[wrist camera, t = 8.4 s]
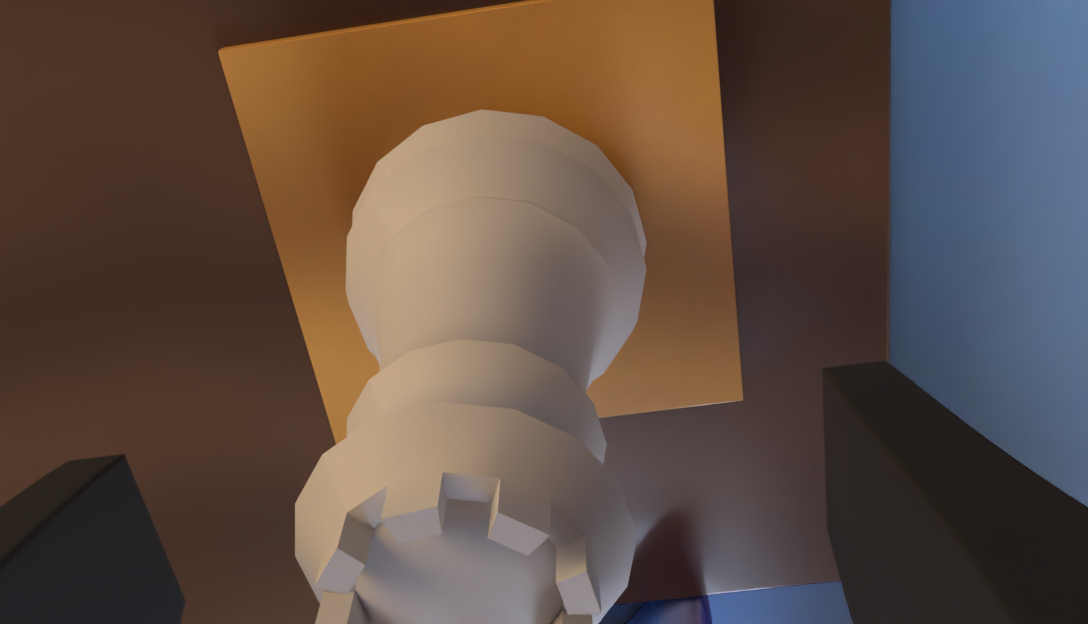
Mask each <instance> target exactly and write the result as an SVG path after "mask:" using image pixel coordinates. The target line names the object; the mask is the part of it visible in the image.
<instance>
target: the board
mask: <svg viewBox="0 0 1088 624" xmlns="http://www.w3.org/2000/svg"><path fill="white" fill-rule="evenodd" d="M891 3H892V0H0V507H1V506H2V505H4V504H5V503H7V502H8V501H9V500H11V499H12V498H13V497H15V496H16V495H18V494H19V493H20V492H22V491H23V490H25V489H26V488H27V487H29V486H30V485H32V484H33V483H35V482H36V481H38V480H39V479H40V478H42V477H43V476H45V475H47V474H48V473H50V472H51V471H53V470H55V469H56V468H58V467H59V466H61V465H63V464H64V463H66V462H68V461H71V460H79V459H87V458H95V457H103V456H111V455H119V454H125V457H126V459H127V461H128V464H129V466H130V469H131V471H132V473H133V476H134V478H135V481H136V483H137V485H138V488H139V490H140V492H141V495H142V497H143V500H144V502H145V504H146V507H147V509H148V512H149V514H150V516H151V519H152V521H153V524H154V526H155V528H156V531H157V533H158V535H159V538H160V540H161V543H162V545H163V547H164V550H165V552H166V555H167V557H168V559H169V562H170V564H171V567H172V569H173V571H174V574H175V576H176V579H177V581H178V583H179V586H180V588H181V590H182V593H183V595H184V598H185V600H186V602H185V606H184V610H183V615H182V619H181V623H180V624H315V622H316V618H317V614H318V611H319V607H320V603H319V601H318V599H317V597H316V595H315V594H314V592H313V590H312V588H311V586H310V584H309V582H308V580H307V578H306V576H305V574H304V572H303V570H302V568H301V567H300V565H299V563H298V561H297V559H296V557H295V503H296V501H297V499H298V497H299V495H300V494H301V492H302V490H303V488H304V486H305V485H306V483H307V481H308V479H309V477H310V476H311V474H312V472H313V470H314V468H315V467H316V465H317V463H318V461H319V459H320V458H321V456H322V454H324V453H325V452H327V451H328V450H329V449H331V448H332V447H334V446H335V445H337V444H338V443H339V442H341V441H342V440H344V439H345V438H347V418H348V416H349V414H350V412H351V411H352V409H353V407H354V405H355V403H356V402H357V400H358V398H359V396H360V395H361V393H362V391H363V389H364V387H365V386H366V384H367V382H368V380H369V379H371V378H372V377H373V376H375V375H376V374H378V373H379V372H380V365H379V363H378V360H377V358H376V357H375V356H374V355H373V354H372V353H371V352H370V351H369V350H368V348H367V345H366V343H365V341H364V338H363V336H362V334H361V331H360V329H359V327H358V324H357V322H356V319H355V317H354V315H353V312H352V310H351V308H350V305H349V303H348V299H347V295H346V253H347V236H348V234H349V232H350V230H351V228H352V216H353V209H354V207H355V205H356V203H357V201H358V199H359V197H360V195H361V193H362V192H363V190H364V188H365V186H366V184H367V182H368V180H369V178H370V176H371V174H372V172H373V170H374V168H375V166H376V164H377V162H378V161H379V160H381V159H382V158H383V157H384V156H386V155H387V154H388V153H389V152H391V151H392V150H393V149H394V148H396V147H397V146H398V145H399V144H401V143H402V142H403V141H404V140H406V139H407V138H408V137H409V136H411V135H412V134H413V133H414V132H416V131H417V130H418V129H419V128H421V127H422V126H424V125H427V124H431V123H434V122H438V121H442V120H445V119H449V118H452V117H456V116H460V115H463V114H467V113H470V112H474V111H478V110H481V109H482V110H491V111H500V112H509V113H517V114H526V115H535V116H543V117H545V118H547V119H549V120H551V121H553V122H554V123H556V124H558V125H560V126H562V127H564V128H566V129H567V130H569V131H571V132H573V133H575V134H577V135H579V136H580V137H582V138H584V139H586V140H588V141H590V142H592V143H593V144H595V145H597V146H598V147H599V149H600V150H601V151H602V152H603V154H604V155H605V156H606V157H607V159H608V160H609V161H610V162H611V164H612V165H613V166H614V167H615V169H616V170H617V171H618V172H619V174H620V175H621V176H622V177H623V178H624V180H625V181H626V182H627V183H628V185H629V186H630V187H631V188H632V190H633V192H634V196H635V200H636V204H637V207H638V211H639V215H640V219H641V223H642V226H643V230H644V234H645V238H646V242H647V244H646V250H645V256H644V261H645V265H646V268H647V269H646V275H645V281H644V286H643V292H642V297H641V303H640V309H639V314H638V320H637V322H636V325H635V327H634V329H633V331H632V333H631V334H630V336H629V337H628V339H627V340H626V341H625V343H624V344H623V346H622V347H621V349H620V350H619V352H618V353H617V355H616V356H615V358H614V359H613V360H612V362H611V363H610V365H609V366H608V368H607V369H606V371H605V372H604V374H602V375H601V376H599V377H598V378H596V379H595V380H593V381H592V383H591V384H590V386H589V387H588V388H587V393H586V395H587V396H588V397H589V398H590V399H591V400H592V401H593V402H594V406H595V409H596V412H597V415H598V418H599V421H600V425H601V428H602V431H603V434H604V437H605V440H606V444H607V445H606V451H605V457H604V462H603V465H604V466H605V467H606V468H607V469H608V470H609V471H610V472H611V473H612V474H613V476H614V477H615V478H616V479H617V480H618V481H619V482H620V483H621V485H622V488H623V491H624V495H625V498H626V501H627V504H628V507H629V510H630V514H631V517H632V520H633V523H634V526H635V530H636V533H637V541H636V546H635V551H634V556H633V561H632V566H631V571H630V576H629V581H628V586H627V588H626V589H625V590H624V592H623V593H622V594H621V595H620V597H619V598H618V599H617V600H616V602H615V603H614V604H613V605H622V604H631V603H640V602H650V601H659V600H668V599H677V598H687V597H696V596H705V595H714V594H724V593H733V592H742V591H751V590H761V589H770V588H779V587H788V586H798V585H807V584H816V583H826V582H835V581H841V580H840V576H839V572H838V569H837V565H836V561H835V557H834V553H833V550H832V546H831V542H830V538H829V534H828V531H827V508H826V478H825V447H824V416H823V385H822V368H826V367H834V366H842V365H850V364H858V363H866V362H875V361H883V360H885V361H887V362H888V363H889V364H890V218H891Z"/></svg>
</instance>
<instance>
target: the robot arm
mask: <svg viewBox="0 0 1088 624" xmlns="http://www.w3.org/2000/svg"><path fill="white" fill-rule="evenodd" d="M822 385H823V416H824V447H825V478H826V508H827V531H828V534H829V538H830V542H831V546H832V550H833V553H834V557H835V561H836V565H837V569H838V572H839V576H840V580H841V583H842V587H843V590H844V594H845V598H846V601H847V605H848V608H849V612H850V615H851V619H852V621H853V624H1088V507H1087V506H1085V505H1084V504H1082V503H1081V502H1079V501H1077V500H1076V499H1074V498H1073V497H1071V496H1069V495H1068V494H1066V493H1065V492H1063V491H1062V490H1060V489H1059V488H1057V487H1056V486H1054V485H1053V484H1051V483H1050V482H1048V481H1047V480H1045V479H1044V478H1042V477H1041V476H1039V475H1038V474H1036V473H1035V472H1033V471H1032V470H1031V469H1029V468H1028V467H1026V466H1025V465H1023V464H1022V463H1020V462H1019V461H1018V460H1016V459H1015V458H1013V457H1012V456H1011V455H1009V454H1008V453H1006V452H1005V451H1004V450H1002V449H1001V448H999V447H998V446H997V445H995V444H994V443H992V442H991V441H990V440H988V439H987V438H986V437H984V436H983V435H982V434H980V433H979V432H978V431H976V430H975V429H974V428H972V427H971V426H969V425H968V424H967V423H966V422H964V421H963V420H962V419H960V418H959V417H958V416H956V415H955V414H954V413H952V412H951V411H950V410H949V409H947V408H946V407H945V406H943V405H942V404H941V403H940V402H938V401H937V400H936V399H934V398H933V397H932V396H931V395H929V394H928V393H927V392H925V391H924V390H923V389H922V388H920V387H919V386H918V385H916V384H915V383H914V382H913V381H911V380H910V379H909V378H907V377H906V376H905V375H904V374H902V373H901V372H900V371H898V370H897V369H896V368H895V367H893V366H892V365H891V364H889V363H888V362H887V361H885V360H883V361H875V362H866V363H858V364H850V365H842V366H834V367H826V368H822ZM185 602H186V600H185V598H184V595H183V593H182V590H181V588H180V586H179V583H178V581H177V579H176V576H175V574H174V571H173V569H172V567H171V564H170V562H169V559H168V557H167V555H166V552H165V550H164V547H163V545H162V543H161V540H160V538H159V535H158V533H157V531H156V528H155V526H154V524H153V521H152V519H151V516H150V514H149V512H148V509H147V507H146V504H145V502H144V500H143V497H142V495H141V492H140V490H139V488H138V485H137V483H136V481H135V478H134V476H133V473H132V471H131V469H130V466H129V464H128V461H127V459H126V457H125V454H119V455H111V456H103V457H95V458H87V459H79V460H71V461H68V462H66V463H64V464H63V465H61V466H59V467H58V468H56V469H55V470H53V471H51V472H50V473H48V474H47V475H45V476H43V477H42V478H40V479H39V480H38V481H36V482H35V483H33V484H32V485H30V486H29V487H27V488H26V489H25V490H23V491H22V492H20V493H19V494H18V495H16V496H15V497H13V498H12V499H11V500H9V501H8V502H7V503H5V504H4V505H2V506H1V507H0V624H180V623H181V619H182V615H183V610H184V606H185Z"/></svg>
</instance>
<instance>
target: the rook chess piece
mask: <svg viewBox="0 0 1088 624" xmlns="http://www.w3.org/2000/svg"><path fill="white" fill-rule="evenodd" d="M646 244H647V242H646V238H645V234H644V230H643V226H642V223H641V219H640V215H639V211H638V207H637V204H636V200H635V196H634V192H633V190H632V188H631V187H630V186H629V185H628V183H627V182H626V181H625V180H624V178H623V177H622V176H621V175H620V174H619V172H618V171H617V170H616V169H615V167H614V166H613V165H612V164H611V162H610V161H609V160H608V159H607V157H606V156H605V155H604V154H603V152H602V151H601V150H600V149H599V147H598V146H597V145H595V144H593V143H592V142H590V141H588V140H586V139H584V138H582V137H580V136H579V135H577V134H575V133H573V132H571V131H569V130H567V129H566V128H564V127H562V126H560V125H558V124H556V123H554V122H553V121H551V120H549V119H547V118H545V117H543V116H535V115H526V114H517V113H509V112H500V111H491V110H482V109H481V110H478V111H474V112H470V113H467V114H463V115H460V116H456V117H452V118H449V119H445V120H442V121H438V122H434V123H431V124H427V125H424V126H422V127H421V128H419V129H418V130H417V131H416V132H414V133H413V134H412V135H411V136H409V137H408V138H407V139H406V140H404V141H403V142H402V143H401V144H399V145H398V146H397V147H396V148H394V149H393V150H392V151H391V152H389V153H388V154H387V155H386V156H384V157H383V158H382V159H381V160H379V161H378V162H377V164H376V166H375V168H374V170H373V172H372V174H371V176H370V178H369V180H368V182H367V184H366V186H365V188H364V190H363V192H362V193H361V195H360V197H359V199H358V201H357V203H356V205H355V207H354V209H353V216H352V228H351V230H350V232H349V234H348V236H347V253H346V295H347V299H348V303H349V305H350V308H351V310H352V312H353V315H354V317H355V319H356V322H357V324H358V327H359V329H360V331H361V334H362V336H363V338H364V341H365V343H366V345H367V348H368V350H369V351H370V352H371V353H372V354H373V355H374V356H375V357H376V358H377V360H378V363H379V365H380V372H379V373H378V374H376V375H375V376H373V377H372V378H371V379H369V380H368V382H367V384H366V386H365V387H364V389H363V391H362V393H361V395H360V396H359V398H358V400H357V402H356V403H355V405H354V407H353V409H352V411H351V412H350V414H349V416H348V418H347V438H345V439H344V440H342V441H341V442H339V443H338V444H337V445H335V446H334V447H332V448H331V449H329V450H328V451H327V452H325V453H324V454H322V456H321V458H320V459H319V461H318V463H317V465H316V467H315V468H314V470H313V472H312V474H311V476H310V477H309V479H308V481H307V483H306V485H305V486H304V488H303V490H302V492H301V494H300V495H299V497H298V499H297V501H296V503H295V557H296V559H297V561H298V563H299V565H300V567H301V568H302V570H303V572H304V574H305V576H306V578H307V580H308V582H309V584H310V586H311V588H312V590H313V592H314V594H315V595H316V597H317V599H318V601H319V603H320V607H319V611H318V614H317V618H316V622H315V624H598V623H599V622H600V621H601V620H602V618H603V617H604V616H605V614H606V613H607V612H608V611H609V609H610V608H611V607H612V606H613V604H614V603H615V602H616V600H617V599H618V598H619V597H620V595H621V594H622V593H623V592H624V590H625V589H626V588H627V586H628V581H629V576H630V571H631V566H632V561H633V556H634V551H635V546H636V541H637V533H636V530H635V526H634V523H633V520H632V517H631V514H630V510H629V507H628V504H627V501H626V498H625V495H624V491H623V488H622V485H621V483H620V482H619V481H618V480H617V479H616V478H615V477H614V476H613V474H612V473H611V472H610V471H609V470H608V469H607V468H606V467H605V466H604V465H603V462H604V457H605V451H606V445H607V444H606V440H605V437H604V434H603V431H602V428H601V425H600V421H599V418H598V415H597V412H596V409H595V406H594V402H593V401H592V400H591V399H590V398H589V397H588V396H587V395H586V393H587V388H588V387H589V386H590V384H591V383H592V381H593V380H595V379H596V378H598V377H599V376H601V375H602V374H604V372H605V371H606V369H607V368H608V366H609V365H610V363H611V362H612V360H613V359H614V358H615V356H616V355H617V353H618V352H619V350H620V349H621V347H622V346H623V344H624V343H625V341H626V340H627V339H628V337H629V336H630V334H631V333H632V331H633V329H634V327H635V325H636V322H637V320H638V314H639V309H640V303H641V297H642V292H643V286H644V281H645V275H646V269H647V268H646V265H645V261H644V256H645V250H646Z"/></svg>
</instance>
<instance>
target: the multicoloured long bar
mask: <svg viewBox="0 0 1088 624" xmlns="http://www.w3.org/2000/svg"><path fill="white" fill-rule="evenodd" d="M626 624H713V623H712V618H711V612H710V607H709V601H708V596H707V595H705V596H696V597H687V598H677V599H668V600H659V601H650V602H645V603H644V604H643V606H642V607H641V608H640V609H639V610H638V612H637V613H636V614H635V615H634V617H633V618H632V619H631V620H630V621H629V622H627V623H626Z"/></svg>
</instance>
